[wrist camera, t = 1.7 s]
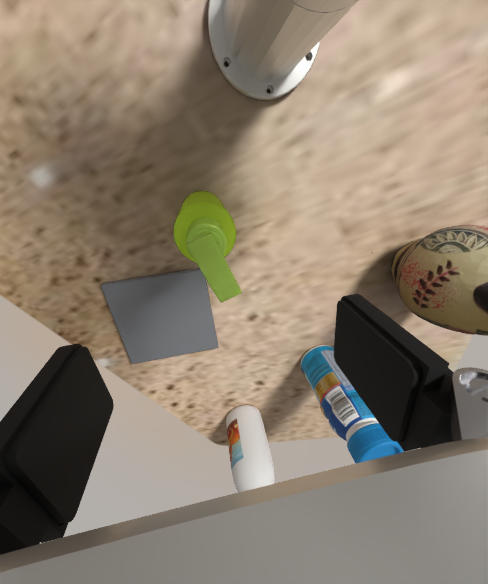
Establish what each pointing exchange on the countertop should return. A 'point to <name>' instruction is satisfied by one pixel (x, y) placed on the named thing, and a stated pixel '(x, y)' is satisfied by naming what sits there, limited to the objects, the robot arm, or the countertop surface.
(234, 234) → the soap dispenser
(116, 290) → the charcoal mat
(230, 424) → the milk bottle
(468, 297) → the ceramic jug
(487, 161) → the countertop surface
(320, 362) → the beverage bottle
